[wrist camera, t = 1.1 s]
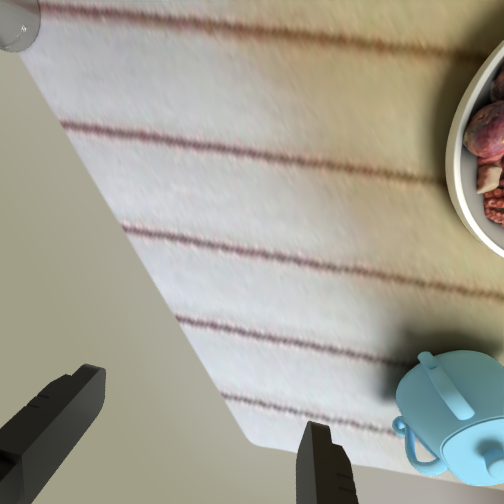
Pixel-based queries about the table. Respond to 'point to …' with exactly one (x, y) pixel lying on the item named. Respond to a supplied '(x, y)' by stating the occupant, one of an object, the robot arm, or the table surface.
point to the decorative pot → (455, 415)
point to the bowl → (480, 155)
